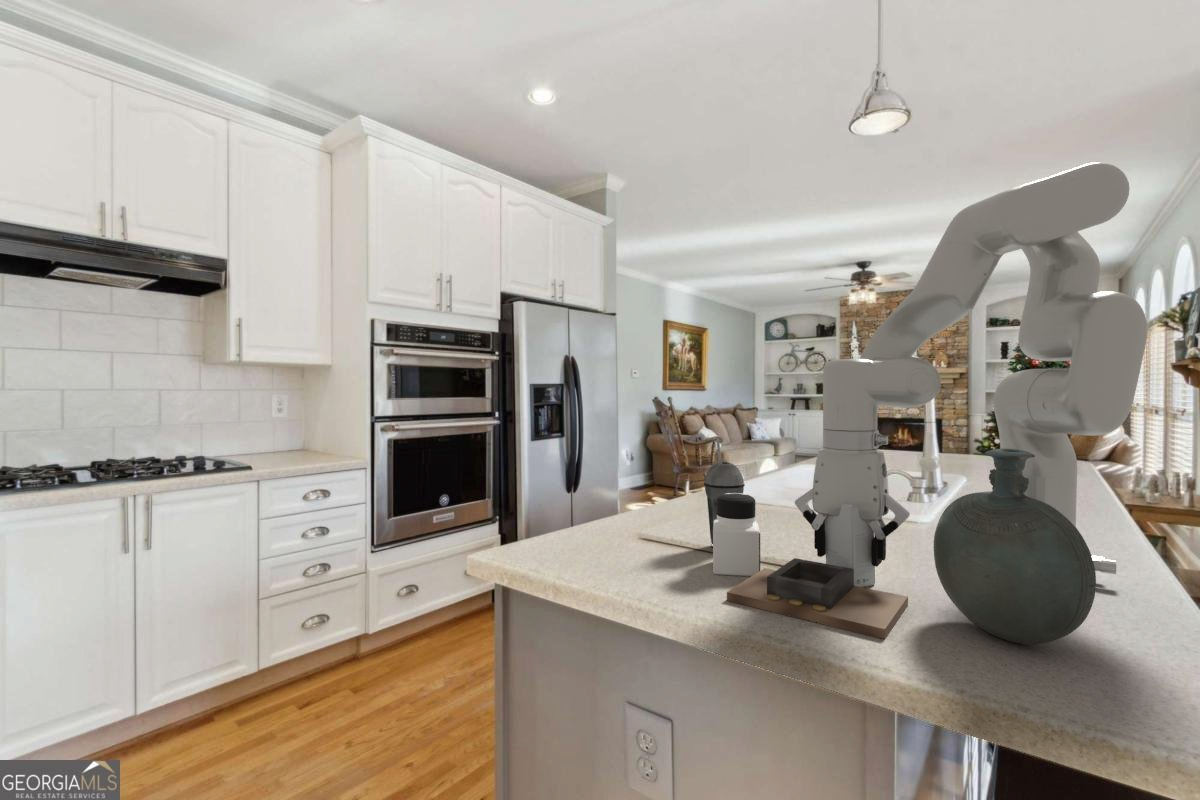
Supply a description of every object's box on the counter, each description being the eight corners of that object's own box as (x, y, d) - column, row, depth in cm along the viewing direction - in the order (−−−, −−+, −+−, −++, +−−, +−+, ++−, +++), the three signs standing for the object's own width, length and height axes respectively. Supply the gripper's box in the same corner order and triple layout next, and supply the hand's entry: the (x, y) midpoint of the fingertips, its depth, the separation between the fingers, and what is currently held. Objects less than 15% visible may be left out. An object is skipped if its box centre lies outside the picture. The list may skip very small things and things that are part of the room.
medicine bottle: (760, 577, 90) (760, 499, 90) (713, 574, 91) (713, 498, 91) (757, 563, 97) (757, 491, 97) (713, 561, 98) (713, 490, 98)
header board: (907, 605, 78) (908, 577, 78) (884, 639, 68) (885, 607, 68) (764, 575, 91) (764, 552, 90) (726, 600, 80) (726, 574, 80)
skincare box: (876, 585, 86) (877, 503, 86) (852, 589, 85) (852, 506, 84) (845, 572, 92) (846, 496, 91) (822, 576, 90) (822, 498, 90)
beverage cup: (749, 553, 103) (749, 439, 102) (707, 553, 103) (707, 439, 102) (739, 541, 110) (739, 435, 109) (700, 542, 110) (700, 436, 109)
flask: (1002, 671, 60) (1005, 459, 60) (918, 608, 77) (919, 442, 77) (1118, 672, 60) (1122, 458, 59) (1008, 608, 77) (1010, 441, 76)
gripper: (919, 442, 85) (918, 563, 86) (800, 436, 96) (800, 544, 96) (909, 447, 79) (908, 577, 80) (783, 440, 90) (783, 555, 90)
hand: (849, 558), depth 88 cm, fingers closed on skincare box, 7 cm apart
